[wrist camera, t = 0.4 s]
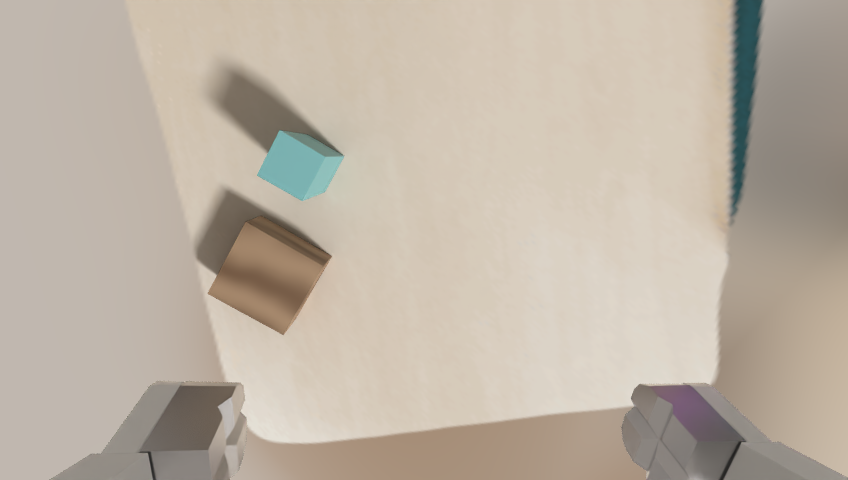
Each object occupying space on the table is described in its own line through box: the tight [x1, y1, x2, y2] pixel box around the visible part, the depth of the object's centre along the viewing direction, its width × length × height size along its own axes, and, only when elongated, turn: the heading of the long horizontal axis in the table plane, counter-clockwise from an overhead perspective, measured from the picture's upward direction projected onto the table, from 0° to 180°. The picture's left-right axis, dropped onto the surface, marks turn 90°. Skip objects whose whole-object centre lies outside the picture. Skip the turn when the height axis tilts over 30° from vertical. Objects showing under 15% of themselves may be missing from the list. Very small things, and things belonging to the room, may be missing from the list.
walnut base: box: [208, 216, 332, 335], centre depth 52 cm, size 10×10×5 cm
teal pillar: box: [257, 130, 344, 201], centre depth 46 cm, size 5×5×10 cm
